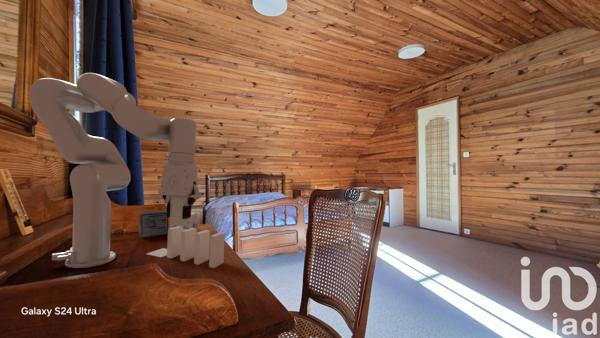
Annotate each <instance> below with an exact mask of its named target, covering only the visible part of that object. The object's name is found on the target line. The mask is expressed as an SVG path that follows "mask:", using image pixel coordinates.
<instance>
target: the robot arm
mask: <svg viewBox="0 0 600 338" xmlns="http://www.w3.org/2000/svg"><path fill="white" fill-rule="evenodd" d="M29 89H30V90H29V97H28V98H29V102H30V106H31V109H32V111H33V112H34V114H35V116H36V117H37V118H38V120H39V121H40V122H41V123H42V125H43V126H44V127H45V129H46V130H47V133H48V135H49V136H50V139H52V141H53V143H54V145H55V146H56V148H57V150H58V151H59V154H60V156H62V158H63V159H64V161H66V162H68V163H70V164H78V165H77V166H76V167H73V169H72V170H71V172H70V175H69V183H70V184H69V185H70V187H71V192H72V202H73V203H72V204H73V210H72V211H73V212H72V214H73V215H72V247H70V250H66V251H65V252H55V253H52V254H51V261H57V262H59V261H65V262H64V264H65V266H66V267H67V268H72V269H84V268H92V267H98V266H101V265H102V266H103V265H105V264H108V263H110V262H112V261H113V260H115V259H116V253H115V252H114V251H112V250H111V232H112V230H111V229H112V228H111V227H112V224H111V223H112V203H111V199H110V198H109V195H108V193H107V192H110V191H119V190H122V189H125V188H127V187H128V185H129V184H130V182H131V171H130V169H129V167H128V165H127V163H126V162H125V160H124V159H123V157H122V155H121V153H120V152H119V150H118V148H117V147H116V146H115V144H114V143H113V142H111V140H109V139H106V138H105V137H100V136H93V135H90V134H88V133H87V132H86V130H85V129H84V127H83V125H82V124H81V122H80V121H79V119H78V118H76V116H75V115H74V114H72V113H71V112H70V111H69V110H71V111H76V112H79V113H85V114H87V113H88V114H89V113H96V112H101V111H106V112H108V113H109V114H111V115H112V118H113V120H114V121H115V123H117V125H118V126H120V127H121V128H123V130H126V131H127V132H129V133H130V134H133V135H134V136H135V137H138V138H140V139H142V140H148V141H154V142H159V143H168V149H167V150H168V152H167V154H166V155H165V159H167V162H165V163H164V166H163V171H162V175H161V181H160V189H159V190H158V195H160V196H161V198H162V199H163V201H164V204H165V205H166V217H168V218H170V200H171V196H181V197H183V199H184V204H185V206H183V210H182V219H187V218H190V217H191V212H192V206H193V205H194V204H195V203H196V202H197V200H199V199H201V198H202V193H201V192H200V190H199V188H198V186H199V185H198V169H197V168H198V167H197V164H195V160H196V159H195V158H196V157H195V156H196V137H197V136H196V135H197V124H196V123H197V122H195V120H192V119H188V118H181V117H173V118H172V119H168V118H164V117H162V116H159V115H155V114H151V113H149V112H147V111H146V110H144V109H142V108H140V107H139V106H137V101H136V98H135V96H133V94H131V93H129V92H128V91H127V89H126V87H125V86H124V85H123V84H122V83H120V82H118V81H116V80H113V79H112V78H109V77H106V76H104V75H101V74H100V73H99V74H98V73H94V72H85V73H83V74H81V75H79V76H78V78H77V79H76V84H75V83H71V82H68V81H65V80H61V79H57V78H52V77H47V78H46V77H44V78H39V79H36V80H35V81H34V82H33V83H32V85H31V86H30V88H29Z"/></svg>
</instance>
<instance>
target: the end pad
mask: <svg viewBox="0 0 600 338" xmlns="http://www.w3.org/2000/svg"><path fill="white" fill-rule="evenodd" d="M146 255H148V256H153V257H156V258H161V259H162V258H163V257H167V248H164V247H162V248H160V249H157V250H154V251H151V252H150V251H149V252H147V253H146Z"/></svg>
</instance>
